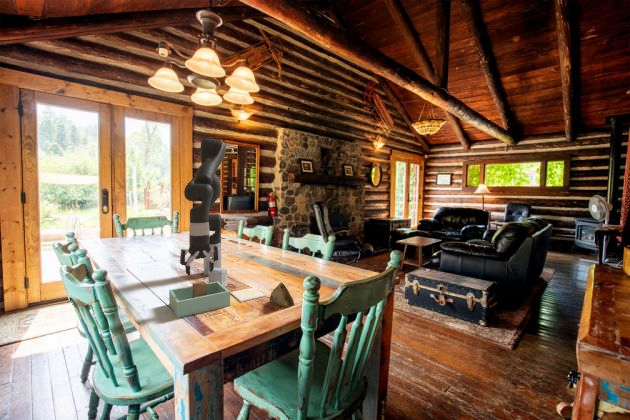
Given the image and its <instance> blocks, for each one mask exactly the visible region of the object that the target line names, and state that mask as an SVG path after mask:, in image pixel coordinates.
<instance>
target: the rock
mask: <svg viewBox="0 0 630 420" xmlns="http://www.w3.org/2000/svg"><path fill="white" fill-rule="evenodd" d="M269 302H273V303H275V304H277V305H279V306H282V307H294V306H296V304H295V302H294V298H293V297H292V295H291V294H290V291H289V289H288V288H287V286H286V285H285V284H284V283H283V282H279V284H278V285H277V286H276V287H274V288H273V290H272V291H271V293H270V296H269Z"/></svg>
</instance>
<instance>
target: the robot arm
mask: <svg viewBox="0 0 630 420" xmlns="http://www.w3.org/2000/svg"><path fill="white" fill-rule="evenodd" d="M226 146H227V145H226V142H224V141H223V140H220V139H213V138H205V137H204V138H202V139H201V142H200V151H199V152H200V166H199V167H198V168H197V171H196V173H195V176H194V177H193V178H192V179H190V181H189V182H188V183H186V185H185V188H184V191H183V193H184V197H185V199H186V200H187V201H189V202H201V204H200V206H197V207H191V208H190V210H189V227H188V228H189V229H188V230H189V231H188V232H189V233H188V236H189V238H188V242H189V247H188V248H187V249H184V248H181V249H180V256H179V258H180V259H179V264H181V266H185V267H184V268H185V273H186V275H187V276H191V264H192V262H194V261H195V260H199V259H203V275H204V276H208V270H209V271H210V272H212V270H213V269H214V267H215V268H222V215H221V214H219V213H210V209H211V208H212V206H213V205H214V204H215V203H216V202H217V200H218V199H219V197H220V195H221V180H220V179H219V177H218V176H217V174H216V172H217V170H218V169H219V167H220V165H221V164H222V161H223V160H224V158H225V155H226V151H227V149H226V148H227V147H226ZM210 232H213V233H212V234H210ZM188 253H189V256H188V257H187V260H186V256H187V254H188Z"/></svg>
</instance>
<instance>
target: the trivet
mask: <svg viewBox="0 0 630 420" xmlns="http://www.w3.org/2000/svg"><path fill="white" fill-rule="evenodd" d="M230 295H232V296H233V297H234V298H235V299H237V301H239V302H240V303H243V302H248V301H252V300H256V299H261V298H265V297H267V294H266V293H264V291H263V292H262V290H260V289H259V288H257V287H255V286H254V287H248V288H244V289H239V290H235V291H230Z"/></svg>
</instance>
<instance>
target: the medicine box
mask: <svg viewBox="0 0 630 420" xmlns="http://www.w3.org/2000/svg"><path fill="white" fill-rule="evenodd" d="M207 278H208V280H207V283H211V282H217V281H219V282H220V283H221V284H222V285H223V286H224V287H225V288H227V287H228V269H227V268H222V267H221V268H215V267H214V269H213V270H212V272H210V271H209V270H208V277H207Z"/></svg>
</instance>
